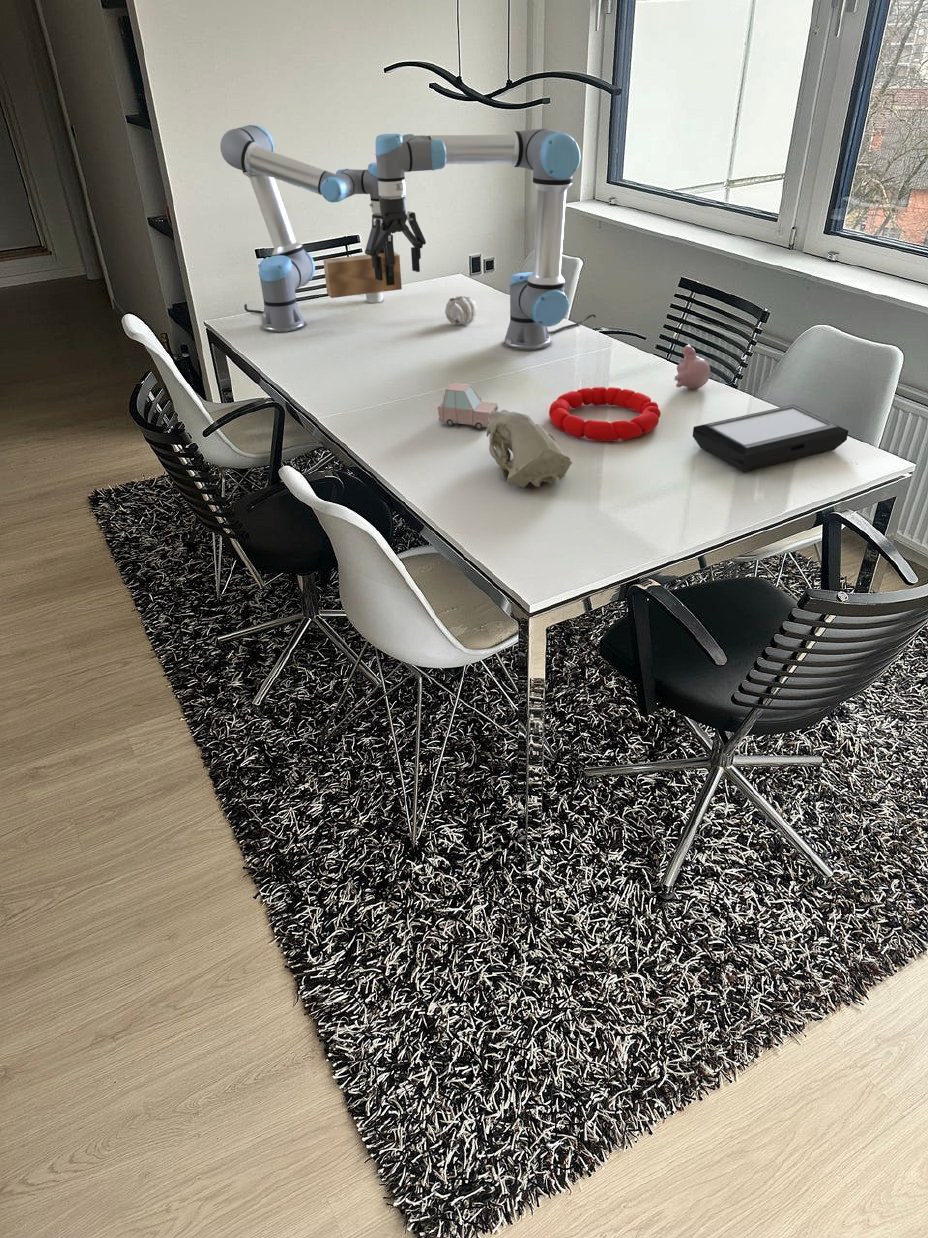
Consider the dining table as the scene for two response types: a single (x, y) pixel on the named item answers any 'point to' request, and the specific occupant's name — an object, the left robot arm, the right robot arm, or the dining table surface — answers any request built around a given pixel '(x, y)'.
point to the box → (358, 276)
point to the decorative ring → (604, 428)
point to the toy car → (465, 406)
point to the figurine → (692, 370)
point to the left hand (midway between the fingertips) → (387, 282)
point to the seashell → (461, 310)
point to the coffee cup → (374, 297)
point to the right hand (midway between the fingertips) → (397, 275)
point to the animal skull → (525, 450)
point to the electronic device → (769, 437)
